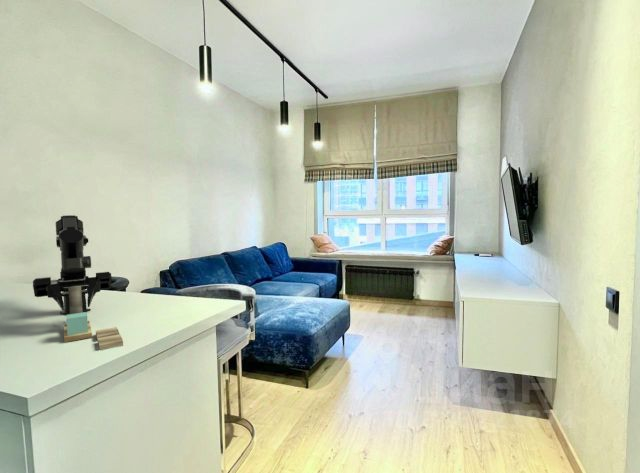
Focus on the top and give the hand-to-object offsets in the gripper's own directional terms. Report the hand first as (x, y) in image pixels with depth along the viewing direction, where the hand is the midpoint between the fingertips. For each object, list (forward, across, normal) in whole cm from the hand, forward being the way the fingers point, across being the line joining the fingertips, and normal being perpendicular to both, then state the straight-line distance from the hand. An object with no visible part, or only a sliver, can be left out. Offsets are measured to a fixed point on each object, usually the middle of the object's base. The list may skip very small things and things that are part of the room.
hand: (76, 307), depth 100 cm
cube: (+8, 0, -1) cm, 8 cm away
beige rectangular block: (+15, +6, -5) cm, 17 cm away
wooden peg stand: (+7, 0, +2) cm, 7 cm away
